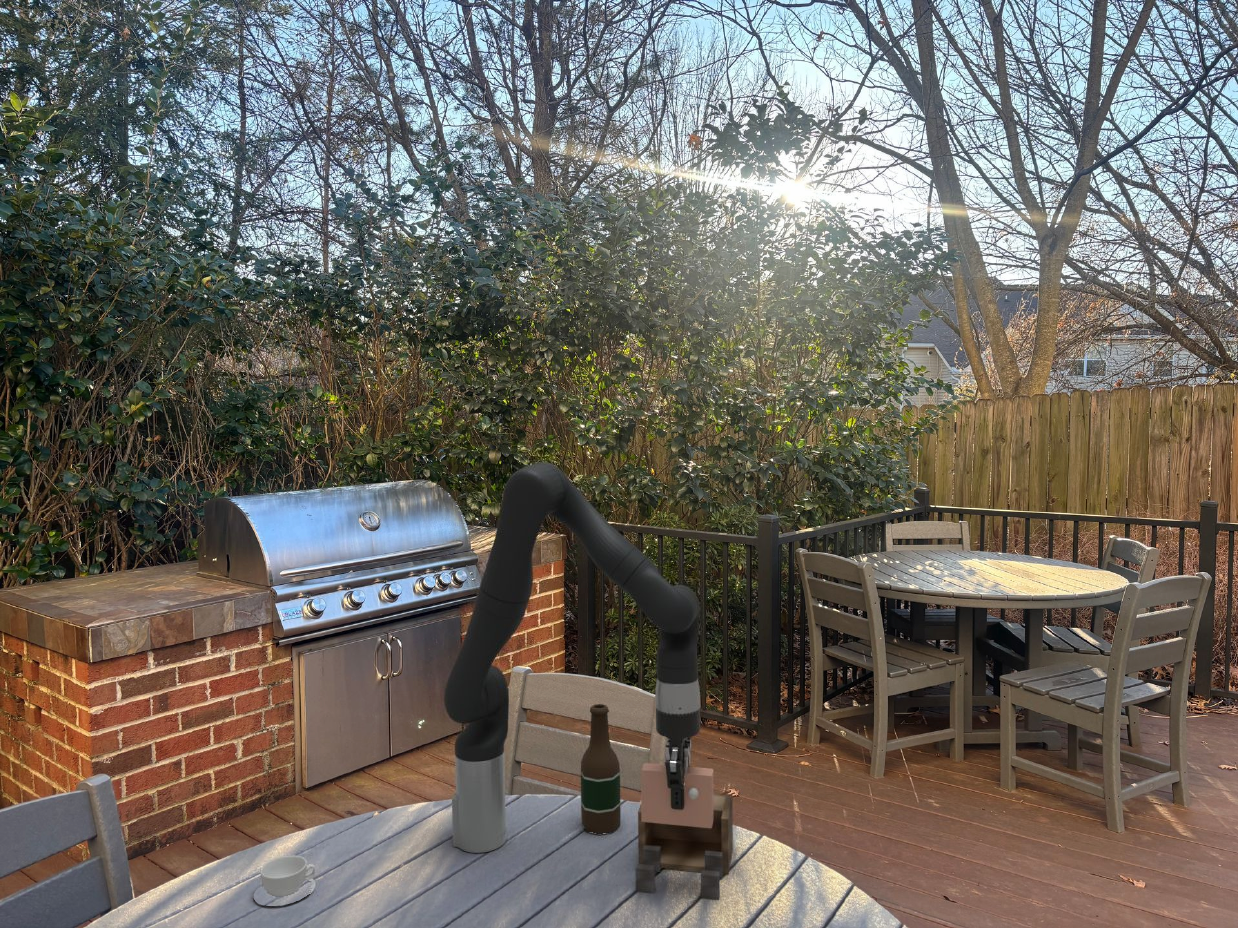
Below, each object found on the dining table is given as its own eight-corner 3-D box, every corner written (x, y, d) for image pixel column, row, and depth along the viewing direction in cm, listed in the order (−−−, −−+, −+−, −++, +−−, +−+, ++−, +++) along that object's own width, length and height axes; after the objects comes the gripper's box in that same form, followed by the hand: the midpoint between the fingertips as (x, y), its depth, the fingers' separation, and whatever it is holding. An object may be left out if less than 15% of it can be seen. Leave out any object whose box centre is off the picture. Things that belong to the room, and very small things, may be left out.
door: (640, 824, 144) (640, 772, 144) (644, 813, 148) (644, 762, 148) (711, 831, 142) (711, 778, 141) (713, 819, 146) (713, 768, 145)
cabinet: (630, 890, 144) (629, 832, 143) (648, 838, 161) (647, 787, 161) (724, 900, 140) (724, 841, 140) (732, 846, 158) (732, 794, 158)
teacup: (254, 915, 138) (253, 887, 138) (251, 885, 147) (250, 859, 147) (319, 899, 143) (318, 872, 142) (312, 871, 152) (311, 846, 151)
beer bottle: (622, 817, 170) (621, 699, 169) (618, 836, 163) (617, 713, 161) (584, 816, 171) (582, 699, 170) (578, 834, 163) (576, 712, 162)
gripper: (694, 719, 137) (696, 824, 138) (704, 692, 150) (705, 788, 151) (648, 717, 138) (650, 821, 139) (662, 690, 152) (663, 785, 153)
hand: (679, 803), depth 145 cm, fingers closed on door, 3 cm apart
